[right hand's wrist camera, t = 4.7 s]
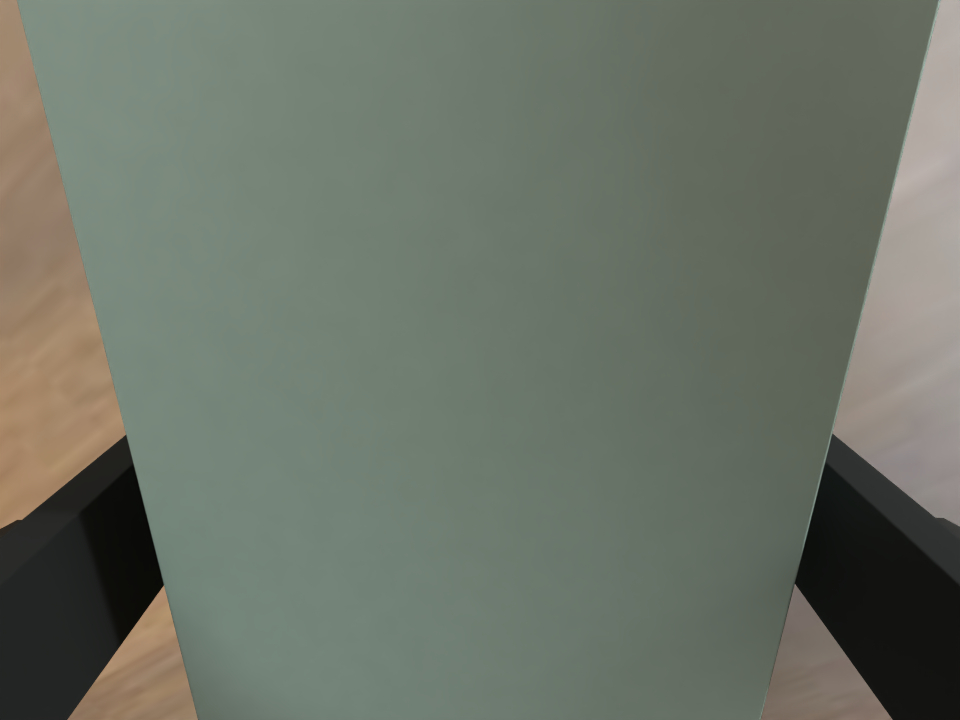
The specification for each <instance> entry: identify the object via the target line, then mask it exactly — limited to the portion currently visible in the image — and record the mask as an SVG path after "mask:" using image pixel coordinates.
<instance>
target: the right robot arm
mask: <svg viewBox="0 0 960 720" xmlns="http://www.w3.org/2000/svg"><path fill="white" fill-rule="evenodd" d="M795 584H796V586H797V587H798V588H799V590H800V591H801V593H802V594H803V595H804V597H805V598H806V600H807V601H808V602H809V604H810V605H811V607H812V608H813V609H814V611H815V612H816V613H817V615H818V616H819V618H820V619H821V620H822V622H823V623H824V625H825V626H826V627H827V629H828V630H829V632H830V633H831V634H832V636H833V637H834V639H835V640H836V641H837V643H838V644H839V645H840V647H841V648H842V650H843V651H844V652H845V654H846V655H847V657H848V658H849V659H850V661H851V662H852V664H853V665H854V666H855V668H856V669H857V671H858V672H859V673H860V675H861V676H862V678H863V679H864V680H865V682H866V683H867V684H868V686H869V687H870V689H871V690H872V691H873V693H874V694H875V696H876V697H877V698H878V700H879V701H880V703H881V704H882V705H883V707H884V708H885V710H886V711H887V712H888V714H889V715H890V716H891V718H892V719H893V720H960V527H959V526H957V525H956V524H954V523H952V522H950V521H948V520H946V519H944V518H935V517H934V516H932V515H931V514H930V513H929V512H927V511H926V510H925V509H924V508H923V507H921V506H920V505H919V504H918V503H916V502H915V501H914V500H913V499H912V498H910V497H909V496H908V495H907V494H906V493H904V492H903V491H902V490H901V489H899V488H898V487H897V486H896V485H895V484H893V483H892V482H891V481H890V480H888V479H887V478H886V477H885V476H884V475H882V474H881V473H880V472H879V471H877V470H876V469H875V468H874V467H873V466H871V465H870V464H869V463H868V462H866V461H865V460H864V459H863V458H862V457H860V456H859V455H858V454H857V453H855V452H854V451H853V450H852V449H851V448H849V447H848V446H847V445H846V444H844V443H843V442H842V441H841V440H840V439H838V438H837V437H836V436H835V435H833V434H832V436H831V440H830V444H829V448H828V452H827V456H826V460H825V464H824V468H823V472H822V476H821V480H820V484H819V488H818V492H817V496H816V500H815V504H814V508H813V512H812V516H811V520H810V524H809V528H808V532H807V536H806V540H805V544H804V548H803V552H802V556H801V560H800V564H799V568H798V572H797V576H796V580H795ZM163 586H164V582H163V578H162V574H161V570H160V566H159V562H158V558H157V554H156V550H155V546H154V542H153V538H152V534H151V531H150V527H149V523H148V519H147V515H146V511H145V507H144V503H143V499H142V495H141V491H140V487H139V483H138V479H137V475H136V471H135V467H134V463H133V459H132V455H131V451H130V447H129V443H128V439H127V435H125V436H124V437H123V438H122V439H120V440H119V441H118V442H117V443H116V444H114V445H113V446H112V447H111V448H109V449H108V450H107V451H106V452H105V453H103V454H102V455H101V456H100V457H98V458H97V459H96V460H95V461H94V462H92V463H91V464H90V465H89V466H87V467H86V468H85V469H84V470H83V471H81V472H80V473H79V474H78V475H76V476H75V477H74V478H73V479H72V480H70V481H69V482H68V483H67V484H65V485H64V486H63V487H62V488H61V489H59V490H58V491H57V492H56V493H54V494H53V495H52V496H51V497H50V498H48V499H47V500H46V501H45V502H43V503H42V504H41V505H40V506H39V507H37V508H36V509H35V510H34V511H32V512H31V513H30V514H29V515H28V516H26V517H25V518H24V519H23V520H16V521H15V522H13V523H11V524H9V525H7V526H5V527H3V528H1V529H0V720H67V719H68V718H69V716H70V715H71V714H72V712H73V711H74V709H75V708H76V707H77V705H78V704H79V703H80V701H81V700H82V698H83V697H84V696H85V694H86V693H87V691H88V690H89V689H90V687H91V686H92V684H93V683H94V682H95V680H96V679H97V677H98V676H99V675H100V673H101V672H102V671H103V669H104V668H105V666H106V665H107V664H108V662H109V661H110V659H111V658H112V657H113V655H114V654H115V652H116V651H117V650H118V648H119V647H120V645H121V644H122V643H123V641H124V640H125V639H126V637H127V636H128V634H129V633H130V632H131V630H132V629H133V627H134V626H135V625H136V623H137V622H138V620H139V619H140V618H141V616H142V615H143V613H144V612H145V611H146V609H147V608H148V606H149V605H150V604H151V602H152V601H153V600H154V598H155V597H156V595H157V594H158V593H159V591H160V590H161V588H162V587H163Z"/></svg>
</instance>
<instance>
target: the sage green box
mask: <svg viewBox="0 0 960 720" xmlns="http://www.w3.org/2000/svg"><path fill="white" fill-rule="evenodd" d="M940 1H941V0H17V2H18V6H19V10H20V14H21V18H22V22H23V26H24V30H25V34H26V38H27V42H28V46H29V50H30V54H31V58H32V62H33V66H34V70H35V74H36V78H37V82H38V86H39V90H40V93H41V97H42V101H43V105H44V109H45V113H46V117H47V121H48V125H49V129H50V133H51V137H52V141H53V145H54V149H55V153H56V157H57V161H58V165H59V169H60V173H61V177H62V181H63V185H64V189H65V193H66V197H67V201H68V205H69V209H70V213H71V217H72V221H73V225H74V229H75V233H76V237H77V240H78V244H79V248H80V252H81V256H82V260H83V264H84V268H85V272H86V276H87V280H88V284H89V288H90V292H91V296H92V300H93V304H94V308H95V312H96V316H97V320H98V324H99V328H100V332H101V336H102V340H103V344H104V348H105V352H106V356H107V360H108V364H109V368H110V372H111V376H112V380H113V384H114V387H115V391H116V395H117V399H118V403H119V407H120V411H121V415H122V419H123V423H124V427H125V431H126V435H127V439H128V443H129V447H130V451H131V455H132V459H133V463H134V467H135V471H136V475H137V479H138V483H139V487H140V491H141V495H142V499H143V503H144V507H145V511H146V515H147V519H148V523H149V527H150V531H151V534H152V538H153V542H154V546H155V550H156V554H157V558H158V562H159V566H160V570H161V574H162V578H163V582H164V586H165V590H166V594H167V598H168V602H169V606H170V610H171V614H172V618H173V622H174V626H175V630H176V634H177V638H178V642H179V646H180V650H181V654H182V658H183V662H184V666H185V670H186V674H187V678H188V681H189V685H190V689H191V693H192V697H193V701H194V705H195V709H196V713H197V717H198V720H761V716H762V712H763V708H764V704H765V700H766V696H767V692H768V688H769V684H770V680H771V676H772V672H773V668H774V664H775V660H776V656H777V652H778V648H779V644H780V640H781V636H782V632H783V628H784V624H785V620H786V616H787V612H788V608H789V604H790V600H791V596H792V592H793V588H794V584H795V580H796V576H797V572H798V568H799V564H800V560H801V556H802V552H803V548H804V544H805V540H806V536H807V532H808V528H809V524H810V520H811V516H812V512H813V508H814V504H815V500H816V496H817V492H818V488H819V484H820V480H821V476H822V472H823V468H824V464H825V460H826V456H827V452H828V448H829V444H830V440H831V436H832V432H833V428H834V424H835V420H836V416H837V412H838V408H839V404H840V400H841V396H842V392H843V389H844V385H845V381H846V377H847V373H848V369H849V365H850V361H851V357H852V353H853V349H854V345H855V341H856V337H857V333H858V329H859V325H860V321H861V317H862V313H863V309H864V305H865V301H866V297H867V293H868V289H869V285H870V281H871V277H872V273H873V269H874V265H875V261H876V257H877V253H878V249H879V245H880V241H881V237H882V233H883V229H884V225H885V221H886V217H887V213H888V209H889V205H890V201H891V197H892V193H893V189H894V185H895V181H896V177H897V173H898V169H899V165H900V161H901V157H902V153H903V149H904V145H905V141H906V137H907V133H908V129H909V125H910V121H911V117H912V113H913V109H914V105H915V101H916V97H917V93H918V89H919V85H920V81H921V77H922V73H923V69H924V65H925V61H926V57H927V53H928V49H929V45H930V41H931V37H932V33H933V29H934V25H935V21H936V17H937V13H938V9H939V5H940Z"/></svg>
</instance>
